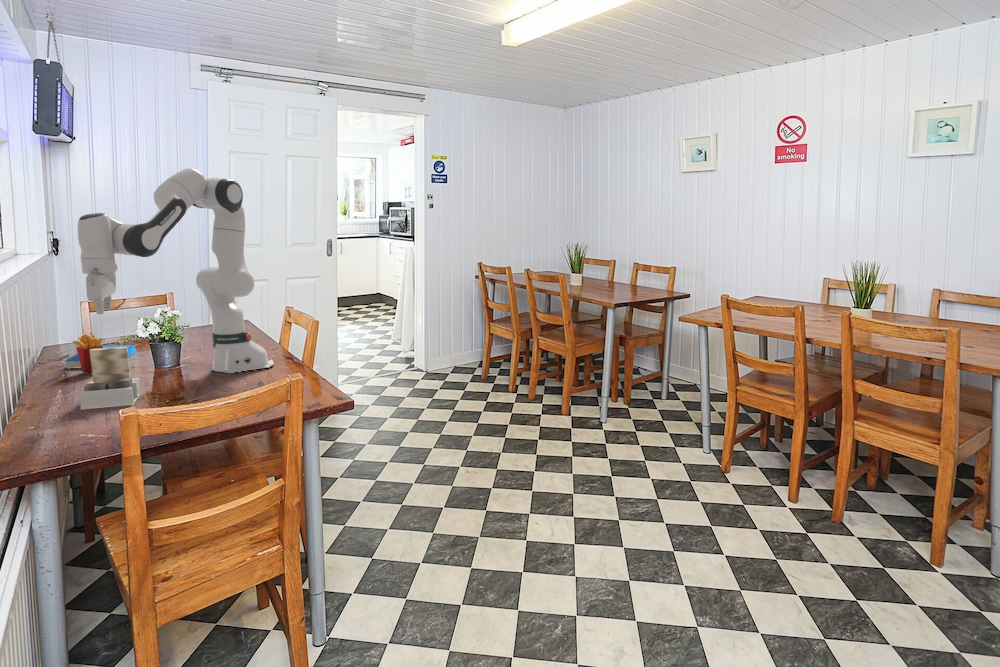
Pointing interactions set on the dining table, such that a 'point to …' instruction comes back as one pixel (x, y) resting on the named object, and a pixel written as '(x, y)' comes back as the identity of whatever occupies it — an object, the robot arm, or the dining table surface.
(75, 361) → the book
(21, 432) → the dining table surface
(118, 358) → the birch board
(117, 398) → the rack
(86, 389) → the offcut short
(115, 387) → the offcut tall
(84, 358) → the french fries
